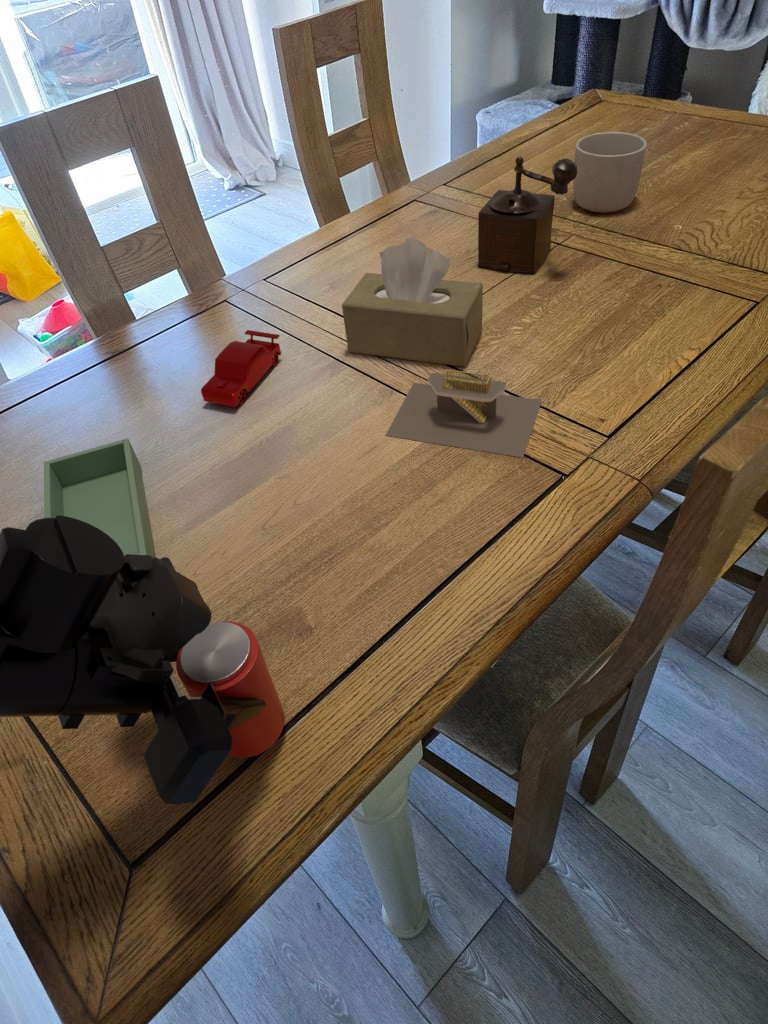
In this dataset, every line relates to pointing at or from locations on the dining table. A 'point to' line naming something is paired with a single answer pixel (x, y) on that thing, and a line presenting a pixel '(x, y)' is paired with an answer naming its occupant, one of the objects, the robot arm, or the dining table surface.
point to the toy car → (240, 369)
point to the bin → (102, 494)
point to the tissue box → (414, 309)
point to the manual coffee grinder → (521, 222)
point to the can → (234, 681)
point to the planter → (608, 170)
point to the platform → (466, 414)
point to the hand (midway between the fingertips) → (246, 676)
